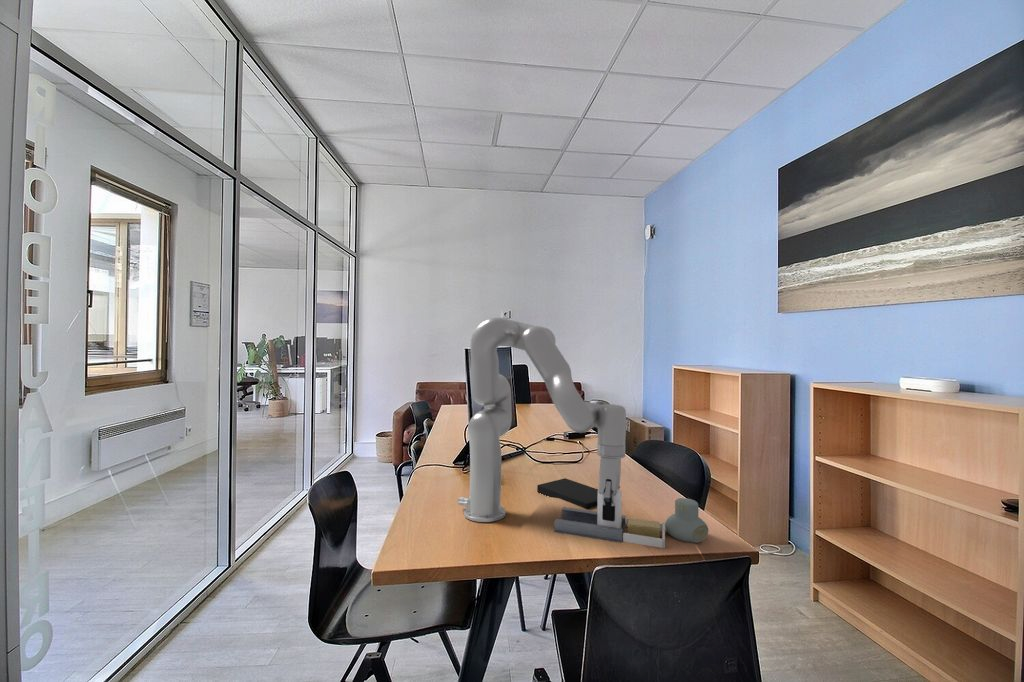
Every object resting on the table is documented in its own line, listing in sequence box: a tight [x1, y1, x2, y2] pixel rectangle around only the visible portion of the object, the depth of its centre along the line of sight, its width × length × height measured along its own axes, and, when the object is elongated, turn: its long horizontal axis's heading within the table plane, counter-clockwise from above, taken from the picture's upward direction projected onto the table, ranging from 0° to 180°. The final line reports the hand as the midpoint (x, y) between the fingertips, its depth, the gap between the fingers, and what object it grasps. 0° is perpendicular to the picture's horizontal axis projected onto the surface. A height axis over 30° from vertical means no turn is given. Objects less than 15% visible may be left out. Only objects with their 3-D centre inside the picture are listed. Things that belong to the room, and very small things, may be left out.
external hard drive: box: [536, 477, 599, 510], centre depth 147 cm, size 14×23×3 cm, turn 39°
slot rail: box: [553, 506, 627, 544], centre depth 119 cm, size 18×13×4 cm
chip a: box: [627, 517, 645, 536], centre depth 116 cm, size 4×4×4 cm
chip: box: [643, 519, 661, 538], centre depth 114 cm, size 4×4×4 cm
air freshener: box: [664, 497, 709, 544], centre depth 116 cm, size 11×8×10 cm
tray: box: [622, 517, 666, 549], centre depth 115 cm, size 10×11×3 cm
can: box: [596, 483, 623, 528], centre depth 118 cm, size 6×6×12 cm
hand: (610, 514), depth 118 cm, fingers closed on can, 6 cm apart
